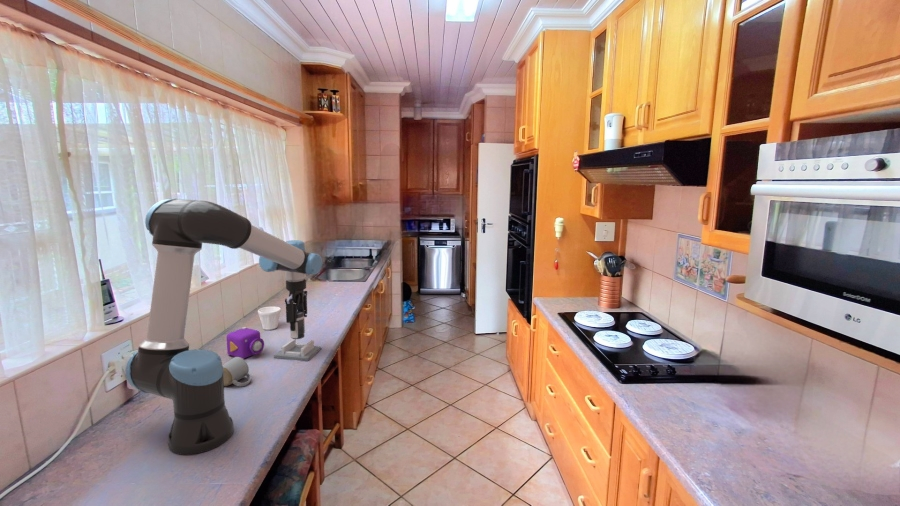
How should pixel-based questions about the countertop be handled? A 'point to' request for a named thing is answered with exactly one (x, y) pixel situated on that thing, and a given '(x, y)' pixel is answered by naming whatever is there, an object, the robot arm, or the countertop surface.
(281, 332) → the countertop surface
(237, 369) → the ceramic mug
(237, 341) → the toy camera
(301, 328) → the lens
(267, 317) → the cup
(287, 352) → the mount
